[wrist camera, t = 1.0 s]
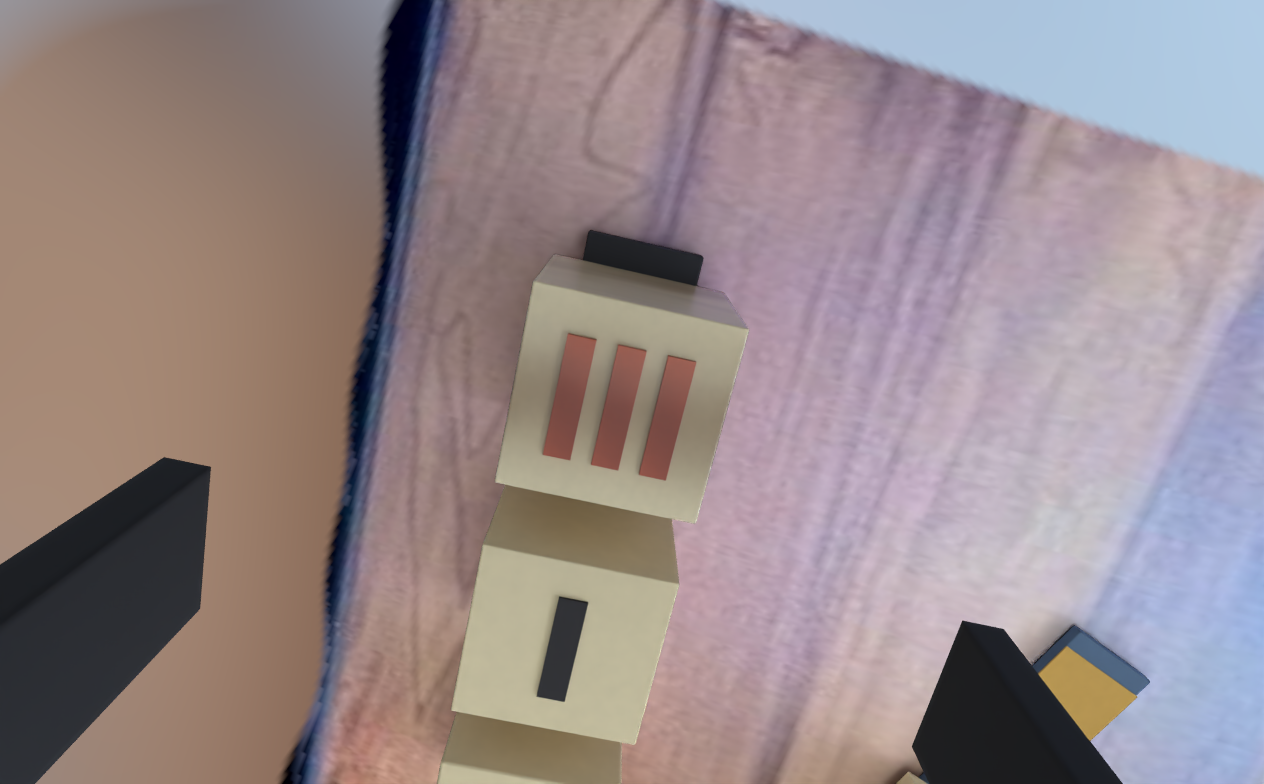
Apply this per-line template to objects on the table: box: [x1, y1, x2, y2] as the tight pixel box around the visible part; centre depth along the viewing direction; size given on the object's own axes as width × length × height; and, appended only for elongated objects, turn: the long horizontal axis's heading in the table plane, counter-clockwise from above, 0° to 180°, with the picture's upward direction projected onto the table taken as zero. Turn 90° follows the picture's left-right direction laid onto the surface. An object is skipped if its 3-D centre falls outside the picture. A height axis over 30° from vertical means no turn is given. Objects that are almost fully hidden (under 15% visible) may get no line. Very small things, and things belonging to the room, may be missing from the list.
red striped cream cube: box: [495, 254, 749, 524], centre depth 25 cm, size 6×6×6 cm
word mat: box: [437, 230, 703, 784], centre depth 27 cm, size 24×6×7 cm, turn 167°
